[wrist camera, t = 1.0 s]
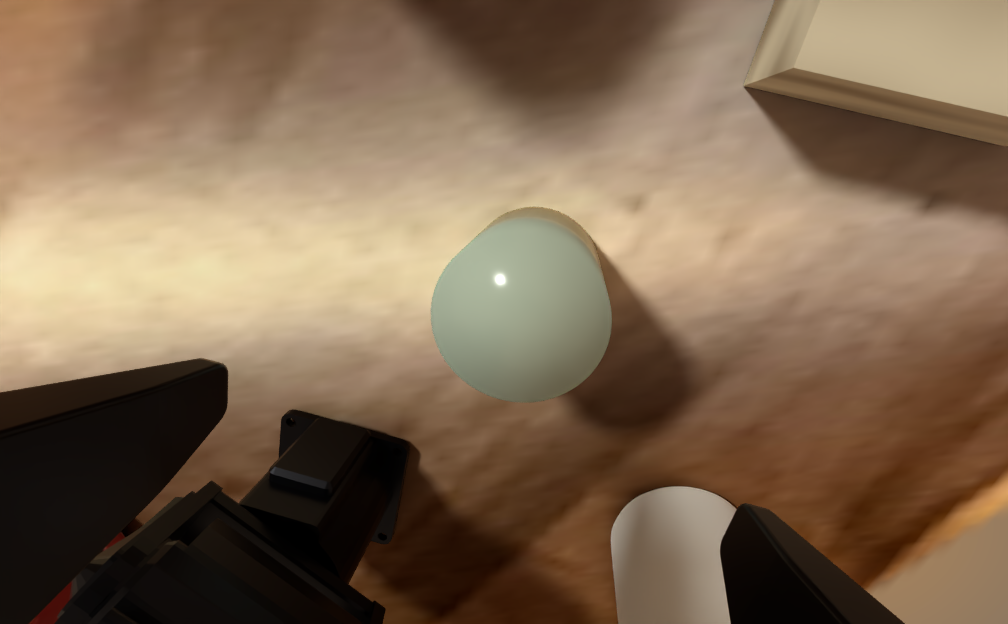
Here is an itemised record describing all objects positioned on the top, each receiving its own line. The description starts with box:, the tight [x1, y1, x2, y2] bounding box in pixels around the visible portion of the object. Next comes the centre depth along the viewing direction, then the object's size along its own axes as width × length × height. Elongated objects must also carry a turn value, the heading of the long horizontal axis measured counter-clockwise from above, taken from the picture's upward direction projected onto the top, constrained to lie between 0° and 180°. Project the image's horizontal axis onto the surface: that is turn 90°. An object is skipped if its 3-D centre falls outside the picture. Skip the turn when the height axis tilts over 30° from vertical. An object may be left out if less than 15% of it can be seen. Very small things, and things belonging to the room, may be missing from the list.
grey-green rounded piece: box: [431, 207, 612, 402], centre depth 17 cm, size 6×6×6 cm
